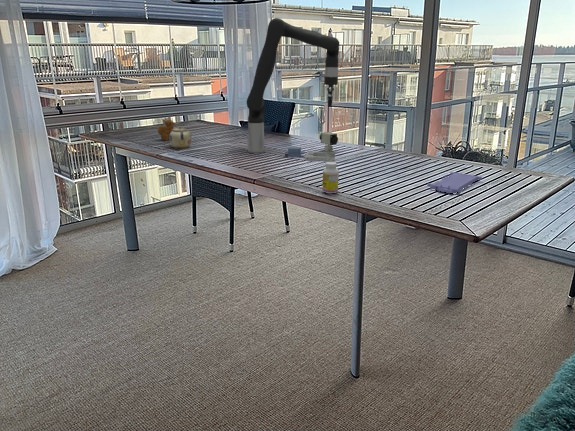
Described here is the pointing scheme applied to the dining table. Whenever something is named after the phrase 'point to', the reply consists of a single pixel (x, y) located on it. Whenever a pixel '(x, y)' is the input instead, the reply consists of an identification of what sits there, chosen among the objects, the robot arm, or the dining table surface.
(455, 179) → the computer part
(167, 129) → the stuffed squirrel
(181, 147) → the teapot
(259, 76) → the robot arm
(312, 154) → the plate
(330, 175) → the supplement bottle
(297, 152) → the block
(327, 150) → the pneumatic valve
